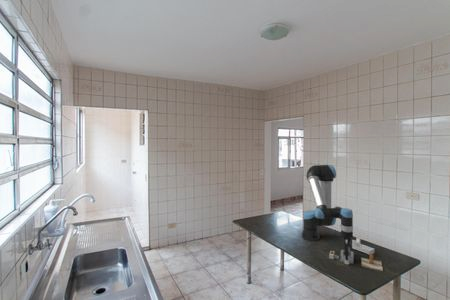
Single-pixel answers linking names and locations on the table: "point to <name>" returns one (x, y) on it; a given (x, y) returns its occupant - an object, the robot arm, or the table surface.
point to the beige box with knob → (331, 254)
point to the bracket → (361, 247)
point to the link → (349, 256)
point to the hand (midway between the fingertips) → (347, 259)
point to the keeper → (371, 263)
